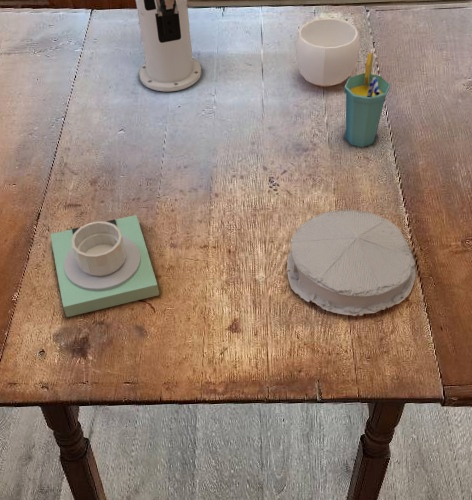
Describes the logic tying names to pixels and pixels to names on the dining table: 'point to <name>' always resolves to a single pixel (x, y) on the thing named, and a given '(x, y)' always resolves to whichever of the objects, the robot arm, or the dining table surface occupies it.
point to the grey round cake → (350, 262)
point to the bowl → (99, 248)
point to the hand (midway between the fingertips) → (162, 23)
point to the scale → (108, 286)
